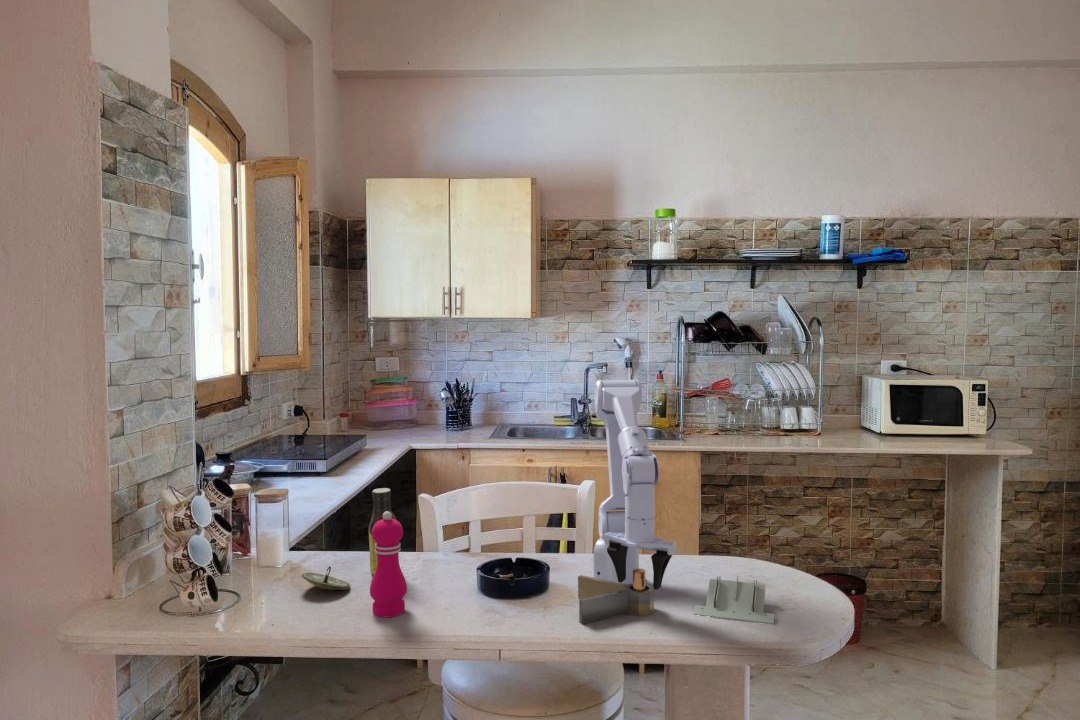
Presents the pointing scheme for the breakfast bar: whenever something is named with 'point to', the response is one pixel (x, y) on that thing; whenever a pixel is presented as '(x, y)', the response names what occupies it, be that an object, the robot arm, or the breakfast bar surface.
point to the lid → (326, 581)
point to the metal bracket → (735, 601)
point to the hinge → (611, 599)
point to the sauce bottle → (380, 506)
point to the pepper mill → (388, 569)
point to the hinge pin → (639, 580)
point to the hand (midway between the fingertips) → (639, 584)
